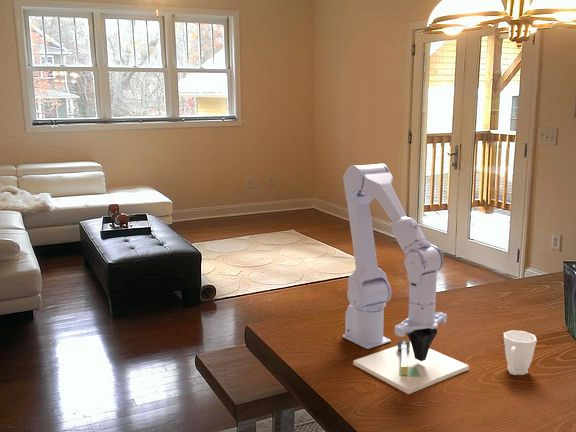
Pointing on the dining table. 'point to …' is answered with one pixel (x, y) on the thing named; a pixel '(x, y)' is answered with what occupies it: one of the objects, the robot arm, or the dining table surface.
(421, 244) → the robot arm
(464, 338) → the dining table surface
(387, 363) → the board
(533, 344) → the cup
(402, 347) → the lever
